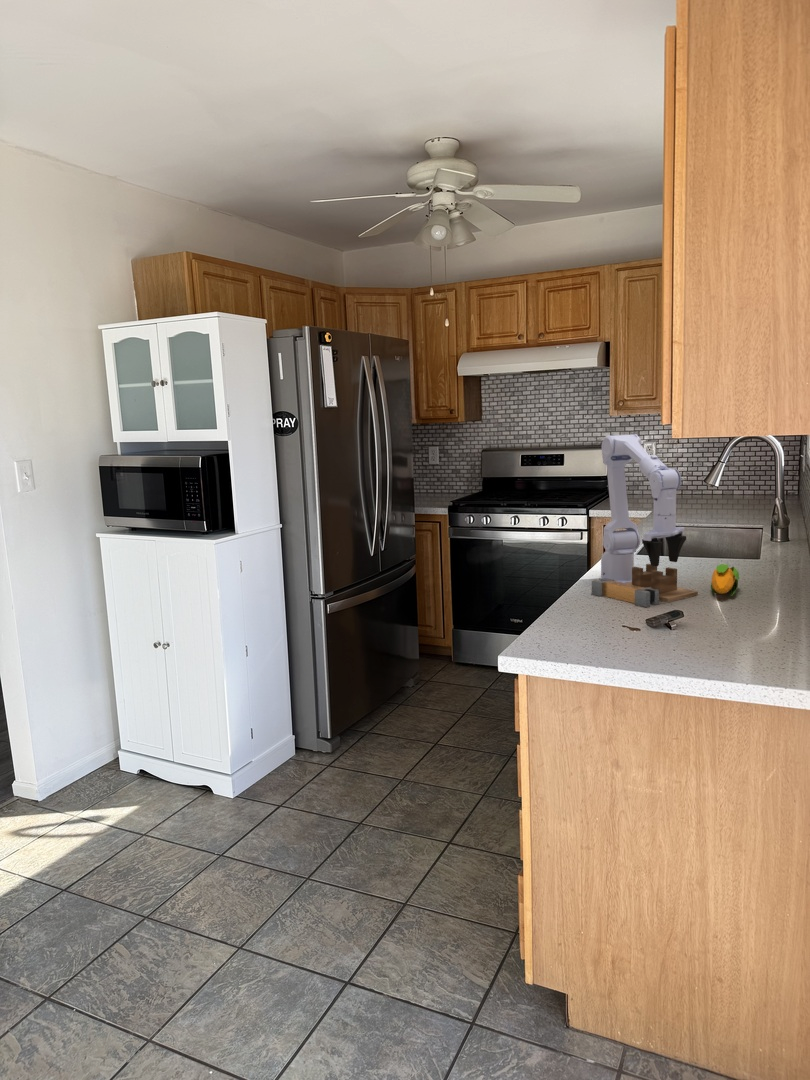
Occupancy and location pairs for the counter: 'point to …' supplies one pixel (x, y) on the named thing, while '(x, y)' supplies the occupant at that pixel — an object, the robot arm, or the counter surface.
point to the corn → (724, 579)
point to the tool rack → (660, 583)
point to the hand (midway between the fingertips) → (663, 563)
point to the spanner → (625, 592)
